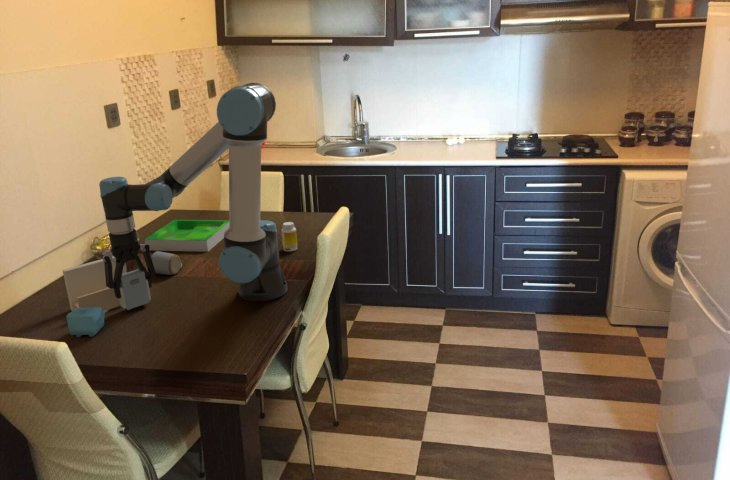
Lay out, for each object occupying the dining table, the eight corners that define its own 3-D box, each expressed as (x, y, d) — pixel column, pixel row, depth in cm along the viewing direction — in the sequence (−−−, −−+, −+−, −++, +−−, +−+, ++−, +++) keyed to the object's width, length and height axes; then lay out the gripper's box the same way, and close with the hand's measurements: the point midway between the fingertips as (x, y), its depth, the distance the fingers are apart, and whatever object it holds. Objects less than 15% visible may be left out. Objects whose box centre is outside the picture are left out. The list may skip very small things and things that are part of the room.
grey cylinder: (171, 278, 210) (168, 257, 207) (150, 276, 212) (147, 255, 210) (188, 267, 219) (186, 247, 217) (168, 265, 222) (165, 245, 219)
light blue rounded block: (116, 326, 177) (112, 302, 174) (108, 337, 171) (103, 312, 168) (75, 328, 177) (69, 304, 174) (65, 338, 171) (59, 313, 169)
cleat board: (140, 299, 194) (133, 260, 190) (82, 318, 183) (73, 277, 178) (128, 291, 200) (121, 253, 196) (70, 309, 189) (62, 269, 185)
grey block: (150, 302, 188) (145, 272, 185) (128, 310, 184) (122, 279, 181) (144, 299, 191) (138, 268, 188) (122, 306, 187) (116, 276, 184)
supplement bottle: (300, 249, 232) (298, 223, 229) (288, 253, 229) (285, 226, 226) (292, 245, 236) (290, 220, 233) (280, 249, 233) (277, 223, 230)
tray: (208, 252, 234) (206, 240, 233) (146, 251, 238) (144, 239, 237) (232, 231, 258) (230, 220, 256) (175, 231, 262) (174, 219, 260)
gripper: (148, 219, 189) (160, 289, 197) (82, 237, 176) (98, 310, 184) (160, 224, 184) (172, 295, 191) (92, 242, 171) (108, 317, 179)
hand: (135, 302), depth 188 cm, fingers closed on grey block, 7 cm apart
